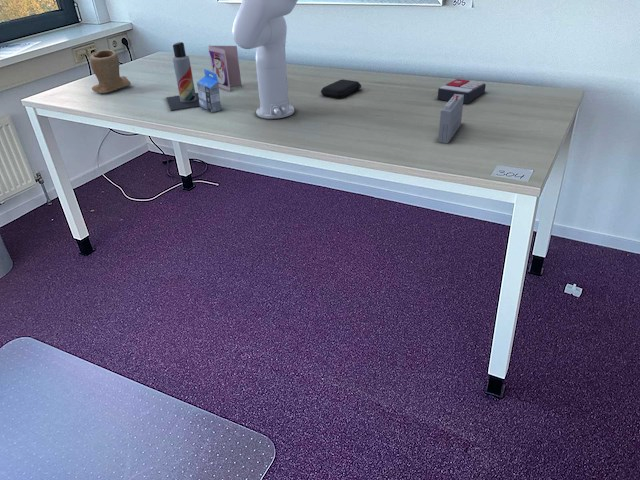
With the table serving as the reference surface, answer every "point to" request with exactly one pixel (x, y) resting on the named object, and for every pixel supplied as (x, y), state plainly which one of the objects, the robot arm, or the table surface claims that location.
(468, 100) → the grey and red box
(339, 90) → the carrying case
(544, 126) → the table surface
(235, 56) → the greeting card
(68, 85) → the table surface
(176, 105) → the mat
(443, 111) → the cassette player
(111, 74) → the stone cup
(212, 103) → the label tape box
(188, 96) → the lotion bottle
